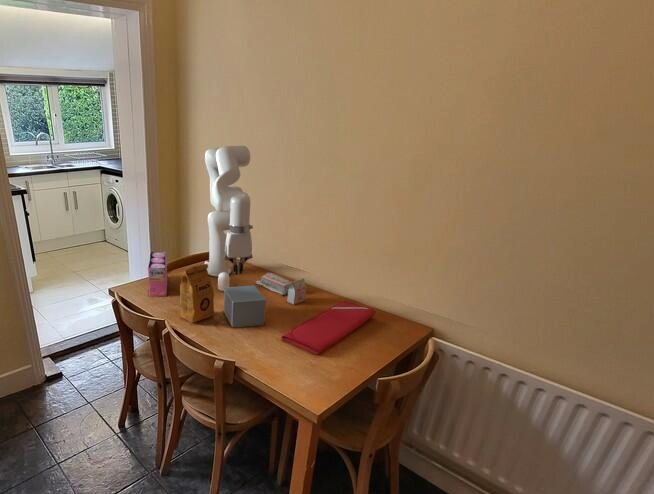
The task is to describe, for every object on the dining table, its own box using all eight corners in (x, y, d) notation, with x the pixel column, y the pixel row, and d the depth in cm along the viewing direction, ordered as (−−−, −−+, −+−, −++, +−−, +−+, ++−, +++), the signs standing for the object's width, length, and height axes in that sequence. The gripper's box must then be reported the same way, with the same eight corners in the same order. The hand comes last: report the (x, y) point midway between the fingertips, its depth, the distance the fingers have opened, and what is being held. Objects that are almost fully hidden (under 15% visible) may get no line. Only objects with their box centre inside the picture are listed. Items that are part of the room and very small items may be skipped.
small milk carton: (287, 301, 177) (289, 280, 173) (298, 298, 180) (300, 276, 176) (293, 304, 174) (295, 282, 170) (304, 300, 177) (307, 279, 173)
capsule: (215, 288, 191) (215, 272, 188) (224, 285, 194) (224, 269, 191) (222, 291, 187) (223, 275, 184) (231, 289, 190) (232, 273, 187)
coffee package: (217, 317, 164) (218, 265, 154) (192, 326, 157) (191, 272, 148) (202, 309, 171) (202, 259, 162) (177, 317, 165) (176, 265, 155)
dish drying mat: (280, 339, 148) (280, 330, 146) (339, 306, 172) (340, 298, 171) (318, 356, 137) (319, 347, 135) (376, 318, 162) (377, 310, 160)
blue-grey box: (223, 311, 169) (224, 287, 165) (253, 308, 171) (254, 285, 166) (232, 327, 156) (233, 302, 152) (264, 324, 158) (265, 299, 153)
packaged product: (299, 281, 185) (283, 286, 180) (298, 291, 187) (282, 296, 182) (271, 270, 199) (256, 274, 194) (270, 279, 201) (255, 283, 196)
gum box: (152, 277, 205) (150, 251, 200) (167, 276, 206) (166, 250, 200) (149, 296, 184) (147, 267, 178) (166, 296, 184) (165, 267, 178)
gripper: (255, 225, 163) (253, 268, 171) (217, 227, 161) (217, 271, 169) (261, 230, 157) (258, 275, 165) (222, 232, 155) (221, 277, 162)
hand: (237, 272), depth 167 cm, fingers closed
